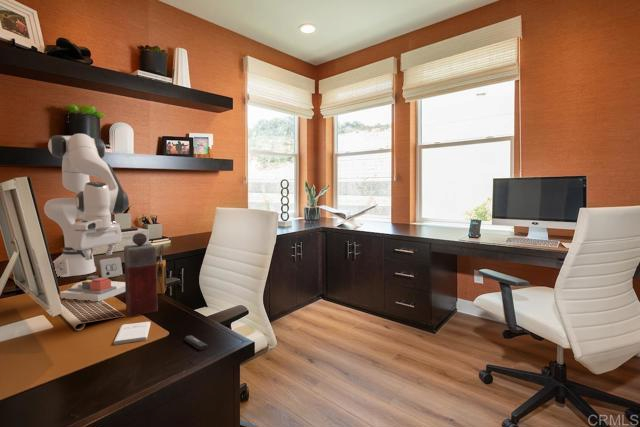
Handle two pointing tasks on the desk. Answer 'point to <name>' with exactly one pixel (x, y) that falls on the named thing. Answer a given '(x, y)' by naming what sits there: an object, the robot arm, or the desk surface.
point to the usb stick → (196, 342)
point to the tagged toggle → (86, 284)
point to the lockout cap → (100, 284)
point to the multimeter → (161, 274)
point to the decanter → (140, 276)
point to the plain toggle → (91, 277)
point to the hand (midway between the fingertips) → (99, 257)
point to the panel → (93, 292)
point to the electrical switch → (110, 267)
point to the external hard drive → (132, 333)
